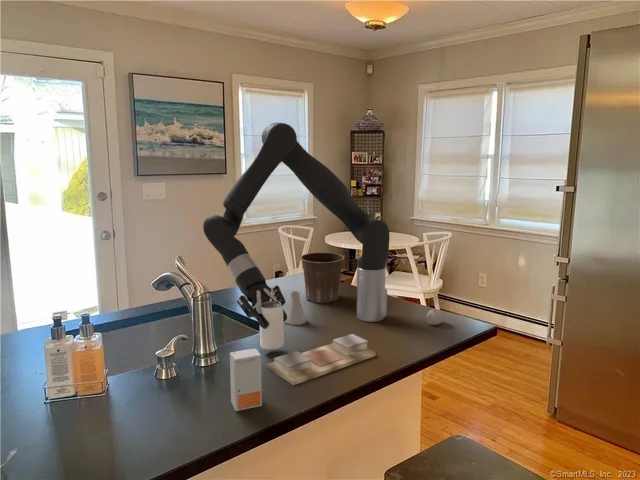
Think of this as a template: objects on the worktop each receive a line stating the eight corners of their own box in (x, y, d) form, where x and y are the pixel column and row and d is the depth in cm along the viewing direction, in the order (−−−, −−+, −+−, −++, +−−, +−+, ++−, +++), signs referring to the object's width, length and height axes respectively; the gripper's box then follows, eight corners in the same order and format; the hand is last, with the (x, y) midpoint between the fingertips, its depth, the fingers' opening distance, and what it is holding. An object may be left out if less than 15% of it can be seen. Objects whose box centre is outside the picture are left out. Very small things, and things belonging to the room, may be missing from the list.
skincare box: (235, 412, 102) (233, 359, 99) (230, 403, 105) (228, 352, 103) (263, 406, 104) (261, 354, 102) (257, 397, 108) (256, 347, 106)
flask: (280, 324, 154) (280, 294, 152) (290, 316, 160) (289, 288, 158) (301, 327, 151) (300, 296, 149) (310, 319, 158) (310, 290, 156)
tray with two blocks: (346, 342, 139) (346, 330, 138) (375, 355, 130) (375, 343, 129) (266, 367, 123) (266, 354, 122) (293, 385, 113) (293, 371, 113)
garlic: (436, 328, 149) (436, 312, 149) (421, 324, 153) (422, 308, 153) (447, 324, 153) (447, 308, 152) (433, 319, 157) (433, 304, 156)
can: (280, 351, 128) (279, 308, 125) (257, 349, 129) (255, 307, 127) (286, 342, 134) (285, 301, 132) (264, 340, 135) (263, 299, 133)
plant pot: (344, 305, 172) (345, 261, 169) (299, 305, 172) (299, 261, 169) (343, 292, 188) (343, 252, 185) (302, 292, 188) (301, 252, 185)
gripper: (231, 271, 127) (261, 324, 122) (271, 261, 138) (301, 310, 132) (220, 286, 132) (249, 338, 126) (260, 276, 142) (288, 323, 137)
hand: (276, 323), depth 129 cm, fingers closed on can, 6 cm apart
